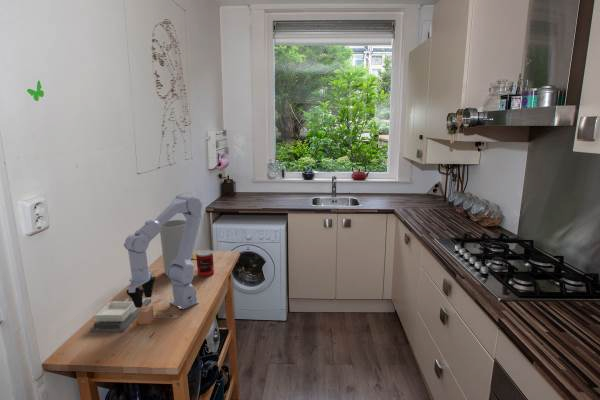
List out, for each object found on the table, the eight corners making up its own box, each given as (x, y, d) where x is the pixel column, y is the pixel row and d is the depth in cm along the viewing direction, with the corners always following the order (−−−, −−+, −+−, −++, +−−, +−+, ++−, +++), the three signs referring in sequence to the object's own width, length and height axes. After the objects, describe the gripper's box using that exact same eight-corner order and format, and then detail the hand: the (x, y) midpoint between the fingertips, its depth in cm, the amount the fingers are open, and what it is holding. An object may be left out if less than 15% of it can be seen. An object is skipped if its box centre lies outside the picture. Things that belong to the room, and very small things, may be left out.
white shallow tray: (111, 310, 142) (110, 301, 141) (136, 310, 141) (135, 301, 141) (96, 324, 132) (94, 315, 131) (123, 324, 132) (121, 315, 131)
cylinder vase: (160, 278, 174) (154, 227, 169) (170, 267, 186) (165, 220, 181) (186, 277, 174) (181, 226, 168) (195, 267, 186) (190, 219, 180)
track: (122, 301, 152) (121, 294, 151) (151, 301, 152) (150, 294, 151) (90, 331, 131) (89, 324, 130) (123, 331, 130) (122, 323, 129)
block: (143, 318, 139) (142, 306, 138) (154, 318, 138) (152, 306, 137) (138, 324, 135) (137, 311, 134) (149, 324, 135) (147, 311, 134)
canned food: (207, 269, 183) (205, 248, 181) (217, 273, 178) (215, 251, 176) (194, 274, 177) (192, 252, 175) (204, 278, 172) (202, 256, 170)
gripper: (138, 259, 139) (142, 292, 142) (117, 275, 125) (122, 312, 128) (156, 259, 139) (160, 292, 142) (137, 275, 125) (142, 311, 128)
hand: (143, 301), depth 135 cm, fingers open, 7 cm apart
